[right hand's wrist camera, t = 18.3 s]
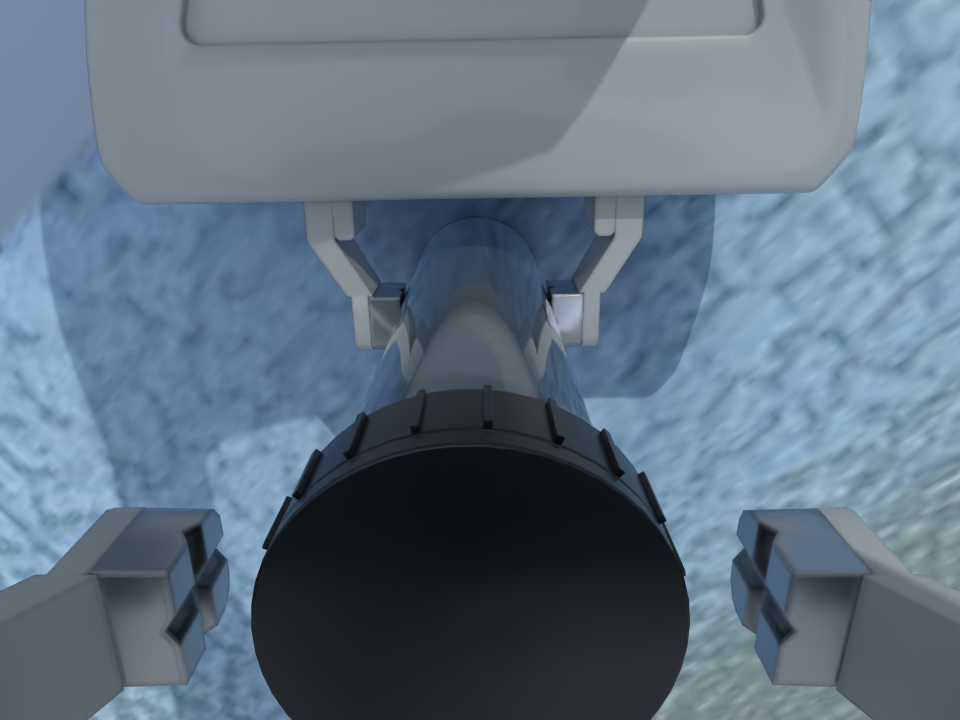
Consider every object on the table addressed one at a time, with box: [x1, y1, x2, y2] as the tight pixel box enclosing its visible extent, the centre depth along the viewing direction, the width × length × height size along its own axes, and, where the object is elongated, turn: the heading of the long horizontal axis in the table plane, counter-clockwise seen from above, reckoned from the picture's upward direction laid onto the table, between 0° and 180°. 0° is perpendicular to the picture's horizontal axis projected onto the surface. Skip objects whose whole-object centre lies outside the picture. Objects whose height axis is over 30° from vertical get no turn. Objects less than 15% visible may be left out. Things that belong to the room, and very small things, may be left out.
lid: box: [251, 385, 690, 720], centre depth 9 cm, size 6×6×2 cm
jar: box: [359, 217, 593, 426], centre depth 18 cm, size 5×4×18 cm
